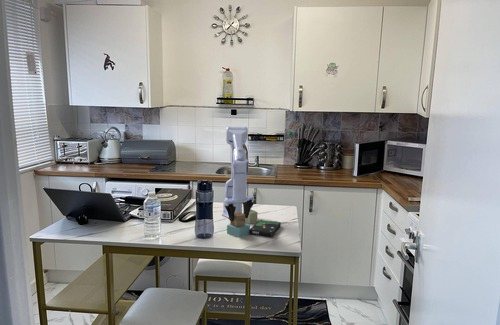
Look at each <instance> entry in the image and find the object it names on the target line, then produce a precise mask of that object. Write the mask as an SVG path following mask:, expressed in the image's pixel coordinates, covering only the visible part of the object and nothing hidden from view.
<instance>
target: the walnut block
mask: <svg viewBox="0 0 500 325" xmlns="http://www.w3.org/2000/svg"><path fill="white" fill-rule="evenodd" d="M229 221H230V220H229ZM229 224H230V225H232V226H234V227H236V228H237V227H241V226H245V224H246V222H245V214H243V212H242V213H241V212H235V213H234V221H233V222H232V221H230V222H229Z"/></svg>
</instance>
